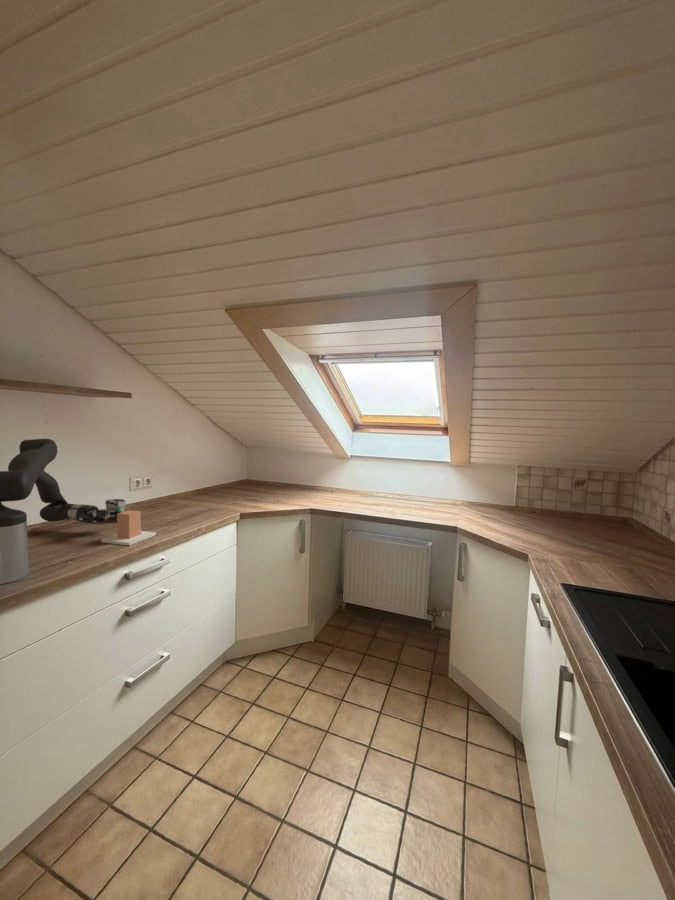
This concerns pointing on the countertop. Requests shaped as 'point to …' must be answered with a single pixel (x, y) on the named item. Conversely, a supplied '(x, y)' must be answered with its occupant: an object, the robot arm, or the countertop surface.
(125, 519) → the salmon orange block
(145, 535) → the post
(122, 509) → the food container
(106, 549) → the countertop surface
